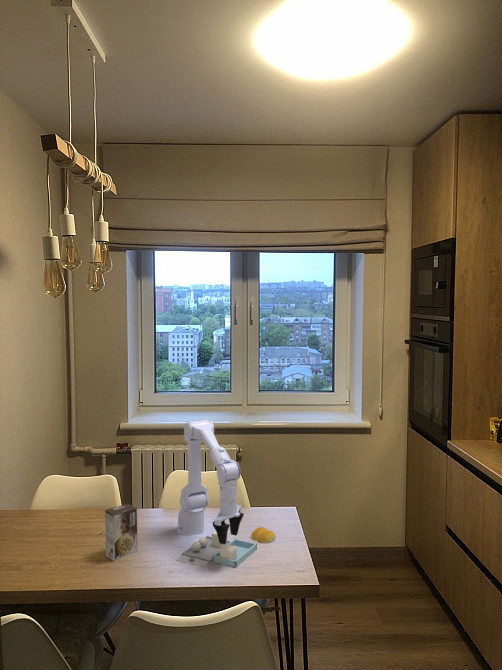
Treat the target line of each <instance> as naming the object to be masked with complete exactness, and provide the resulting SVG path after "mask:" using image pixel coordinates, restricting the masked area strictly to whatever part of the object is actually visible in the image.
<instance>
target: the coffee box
mask: <svg viewBox="0 0 502 670" xmlns="http://www.w3.org/2000/svg"><path fill="white" fill-rule="evenodd" d="M104 511H105V515H104V516H105V557H107V558H109V559H110V560H112V561H113V562H117V561H118V560H121V559H123V558H125V557H128V556H131V555H134V554H136V553H139V552H138V551H139V550H138V547H139V546H138V512H137V511H138V509H137V507H135V506H133V505H131V504H129V503H125V504H121V505H119V506H115V507H112V508H111V507H110V508H108V509H105V510H104Z"/></svg>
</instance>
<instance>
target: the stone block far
mask: <svg viewBox="0 0 502 670" xmlns="http://www.w3.org/2000/svg"><path fill="white" fill-rule="evenodd" d="M211 537H212V546H215V547H219V548H222V547H223V546H225V545H226V544H227V541H228V539H227V540H226V544H220V543H219V539H218V535H217V532H216V530H214V531H213V532H212V533H211Z"/></svg>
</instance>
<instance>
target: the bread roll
mask: <svg viewBox="0 0 502 670" xmlns="http://www.w3.org/2000/svg"><path fill="white" fill-rule="evenodd" d="M250 535H251V536H250V537H251V539H252V540H253V541H255V542H257V543H260V544H271V543H273V542H274V541H275V540H276V534H275V532H274V531H272V530H269V529H268V528H266V527H263V526H262V527H261V526H260V527H259V526H258V527H257V528H255V529H253V531H252V532H251V534H250Z"/></svg>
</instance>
